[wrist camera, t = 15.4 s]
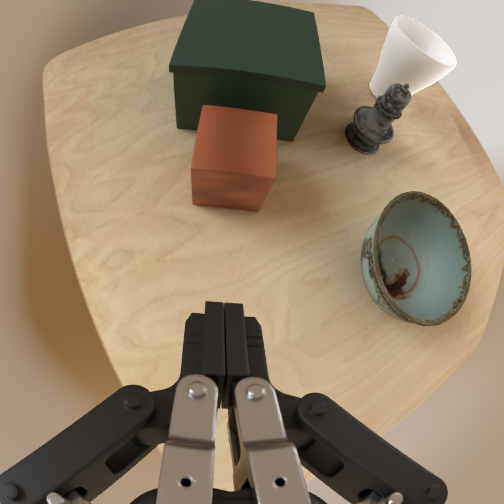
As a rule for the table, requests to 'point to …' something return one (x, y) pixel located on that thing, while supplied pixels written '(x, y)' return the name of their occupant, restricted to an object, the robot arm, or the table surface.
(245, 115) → the block
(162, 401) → the robot arm
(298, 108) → the box
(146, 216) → the table surface
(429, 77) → the cup
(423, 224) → the bowl
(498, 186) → the table surface
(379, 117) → the dark grey chess piece
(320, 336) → the table surface
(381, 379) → the table surface
